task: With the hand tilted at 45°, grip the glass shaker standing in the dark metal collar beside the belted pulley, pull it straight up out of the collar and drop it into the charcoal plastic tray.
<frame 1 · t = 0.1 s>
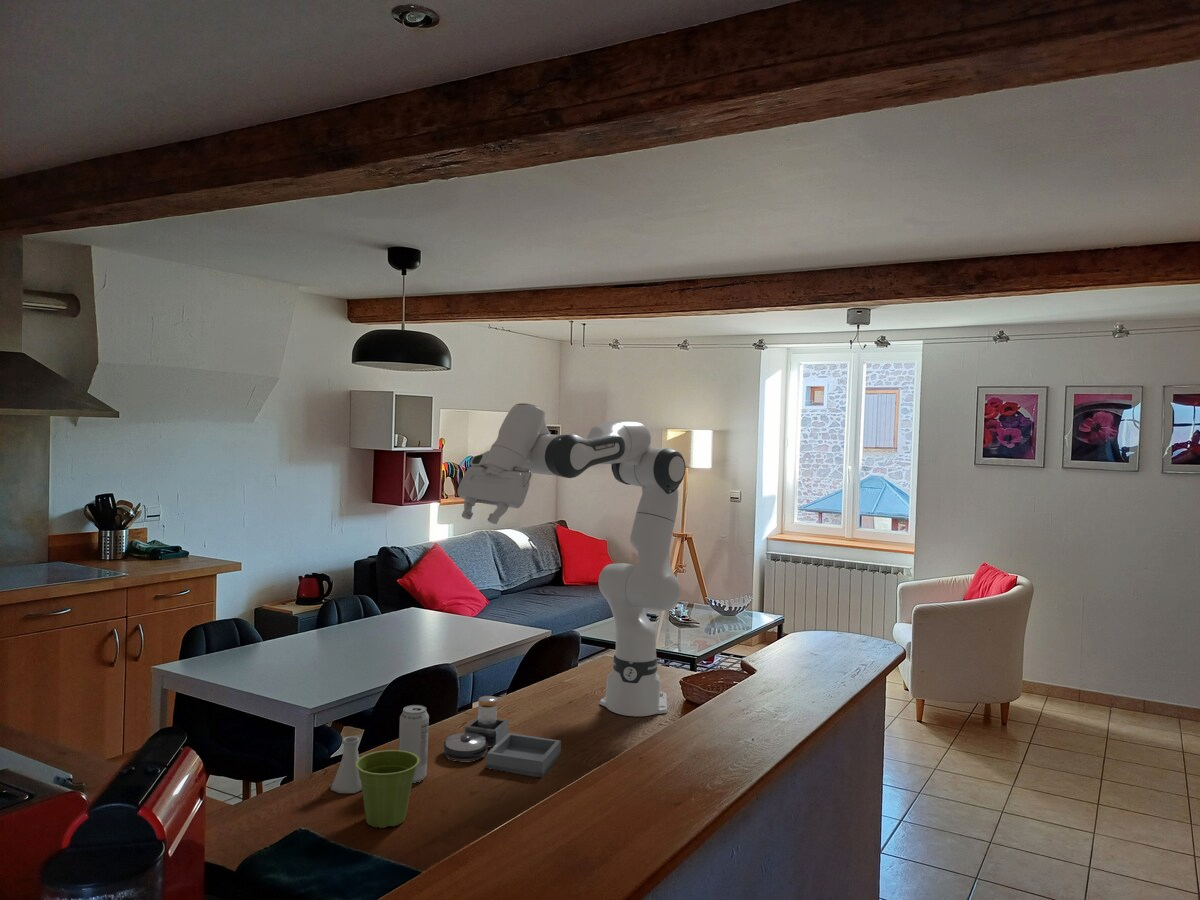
hand: (478, 520, 184), 54 cm above the table, tool tilted 30°, fingers open, 8 cm apart
energy drink can: (411, 779, 175), on the table
flask: (349, 788, 170), on the table
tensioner: (486, 739, 198), on the table
plant pot: (385, 821, 156), on the table
glass shaker: (486, 740, 198), resting in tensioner
tray: (524, 762, 186), on the table
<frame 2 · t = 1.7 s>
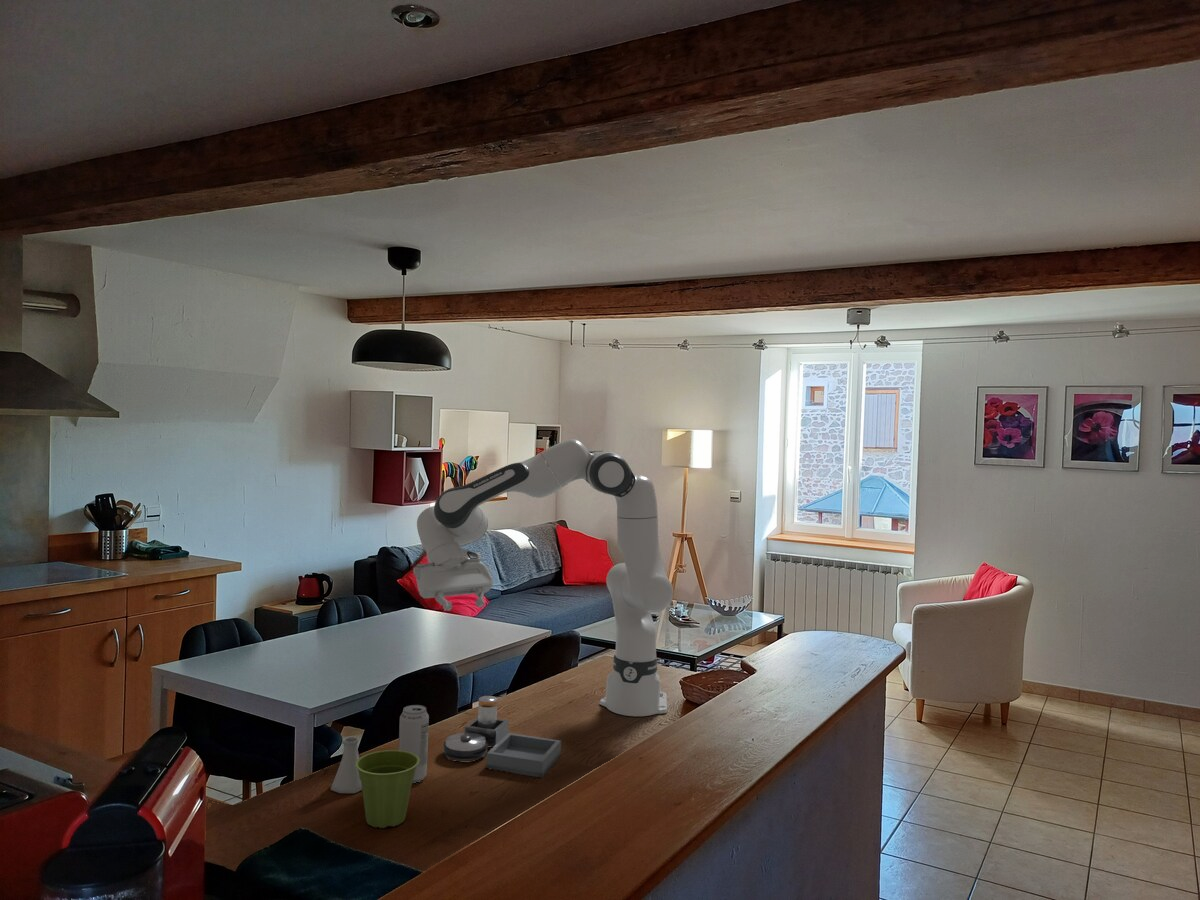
hand: (465, 607, 207), 30 cm above the table, tool tilted 45°, fingers open, 8 cm apart
nothing on the table moved.
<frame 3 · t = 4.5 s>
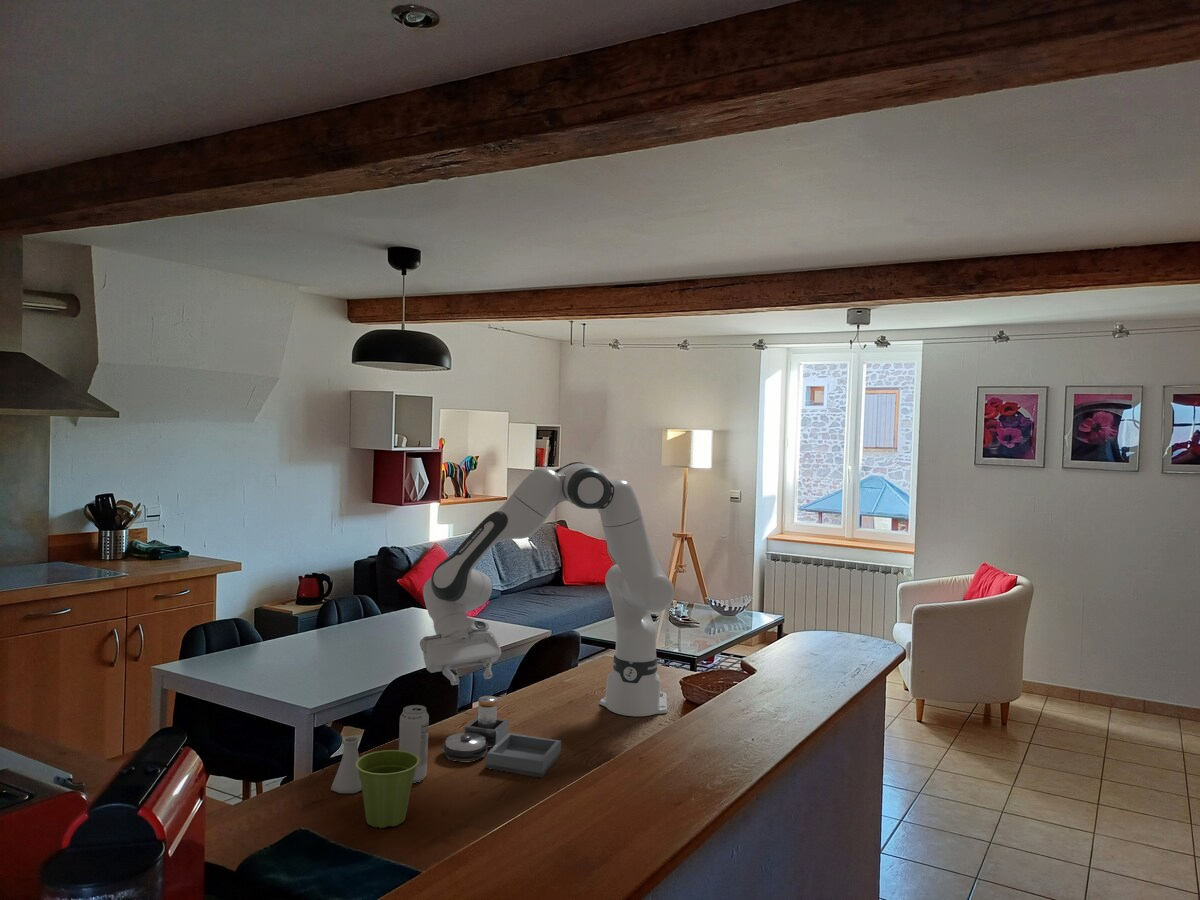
hand: (472, 680, 204), 12 cm above the table, tool tilted 45°, fingers open, 8 cm apart
nothing on the table moved.
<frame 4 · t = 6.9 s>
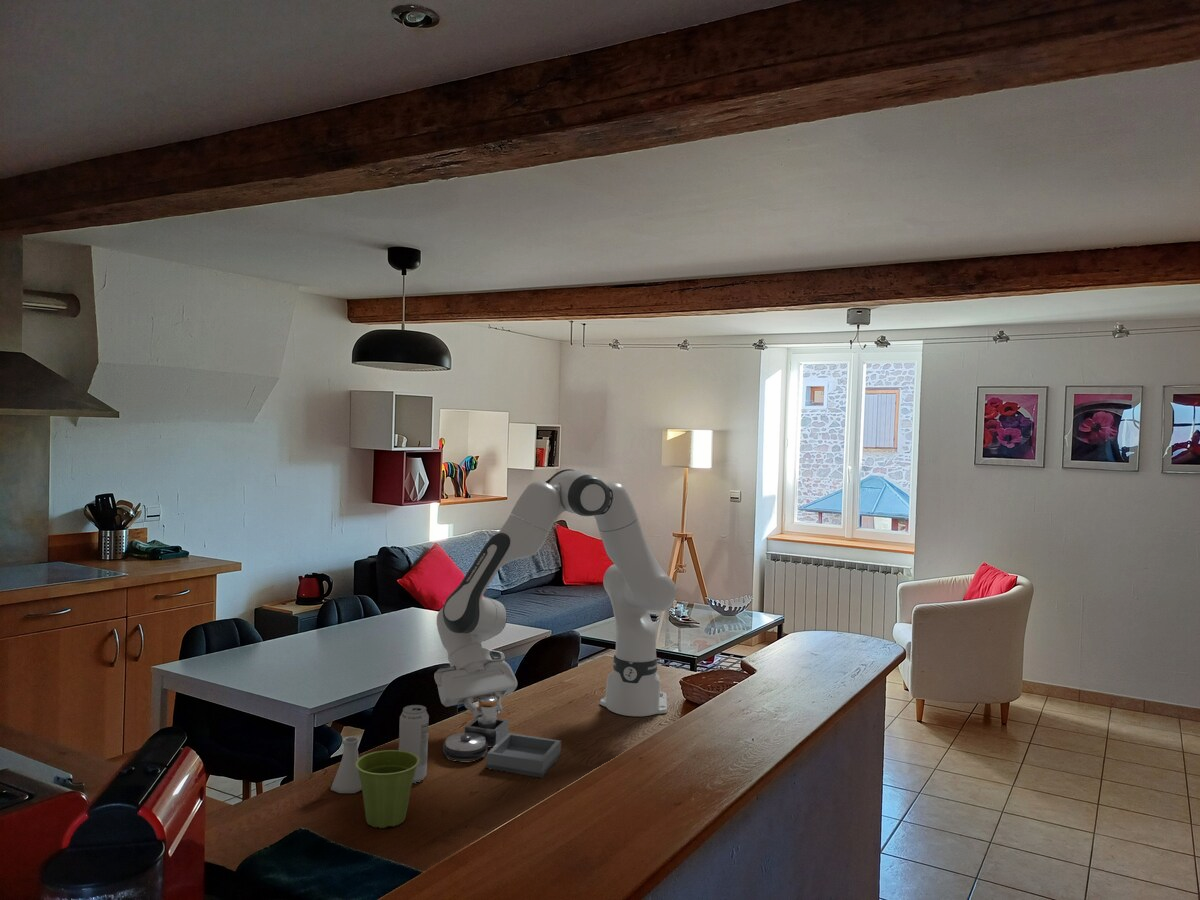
hand: (488, 714, 198), 6 cm above the table, tool tilted 45°, fingers closed on glass shaker, 4 cm apart
glass shaker: (486, 740, 198), resting in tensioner, touching gripper
everything else where it was.
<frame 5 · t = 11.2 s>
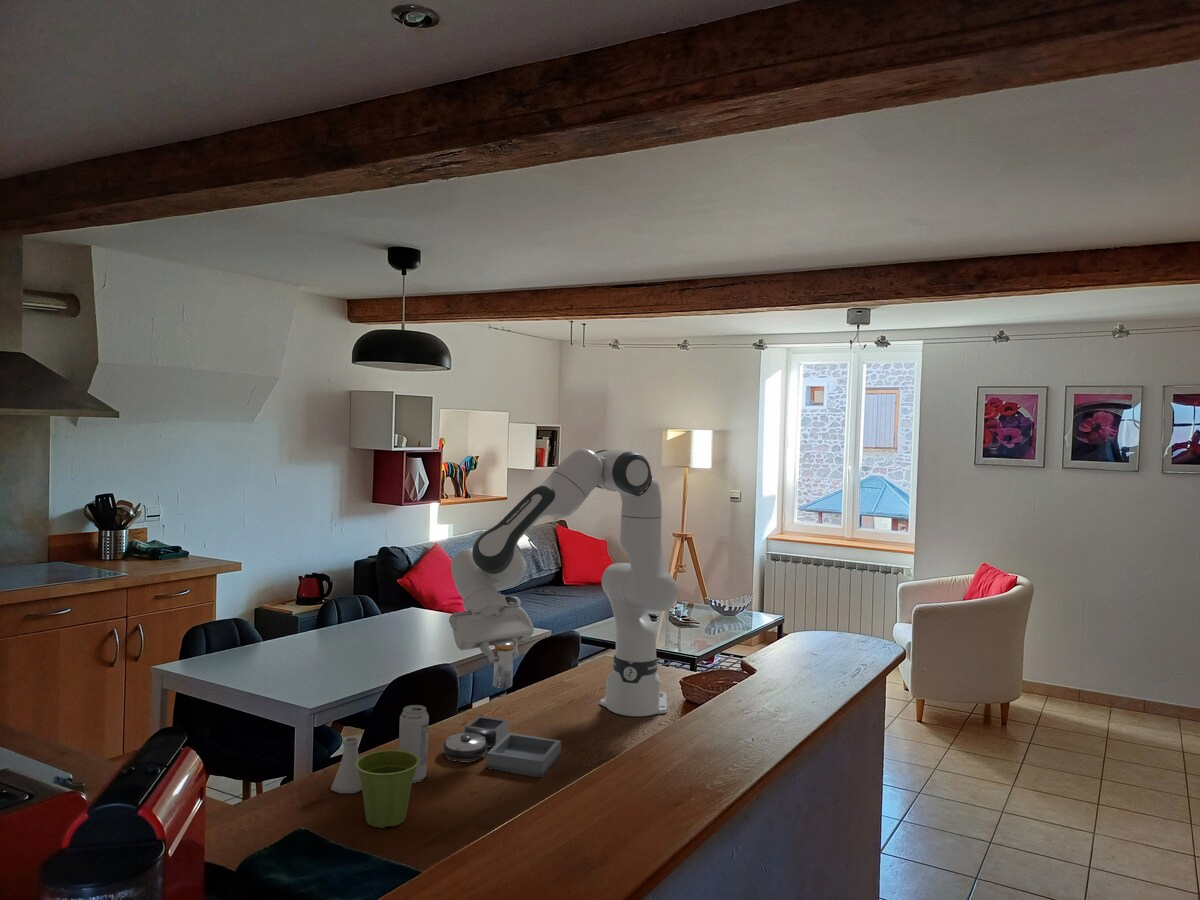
hand: (505, 658, 193), 21 cm above the table, tool tilted 45°, fingers closed on glass shaker, 4 cm apart
glass shaker: (502, 685, 194), point 15 cm above the table, touching gripper
everything else where it was.
when the fingers open (9 cm above the table, at t = 15.6 s): glass shaker drops 2 cm, resting on tray.
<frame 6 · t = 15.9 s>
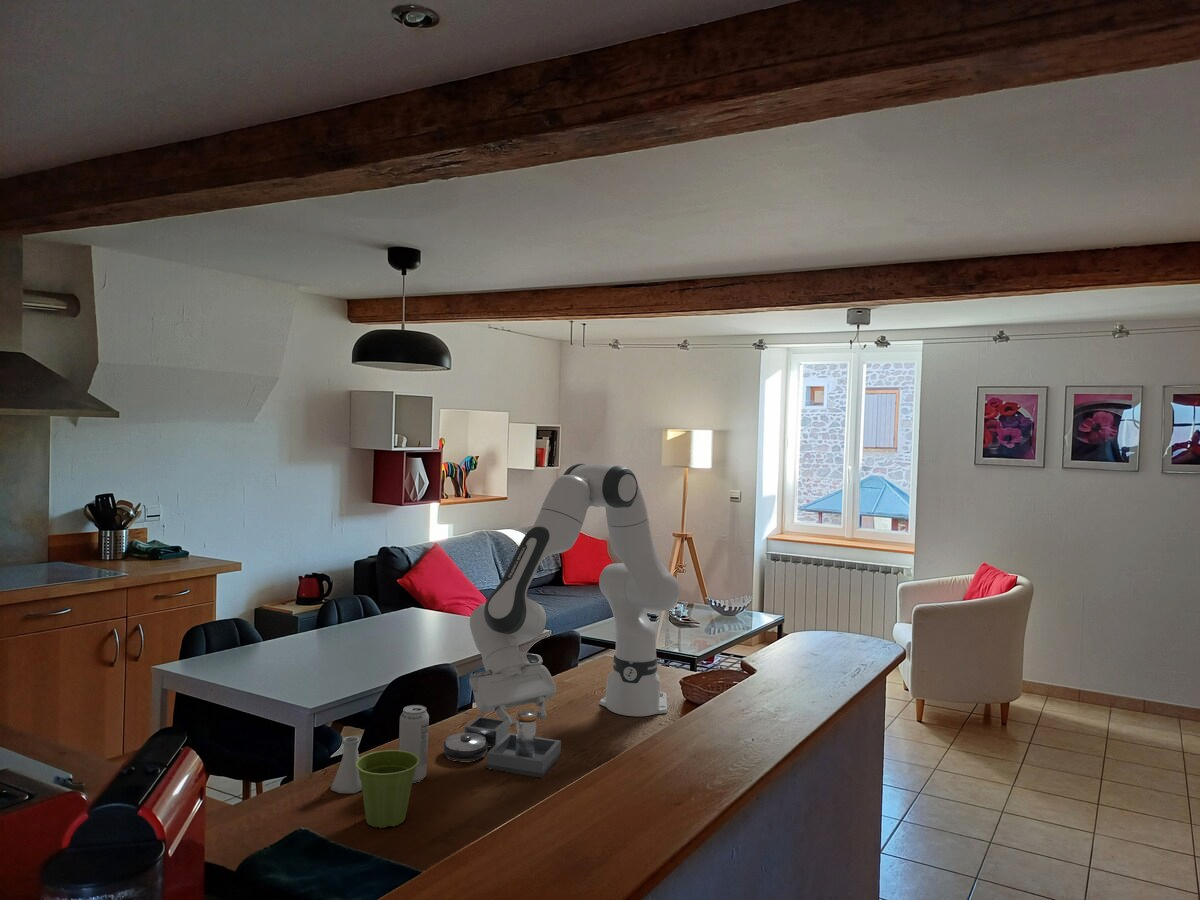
hand: (527, 721, 186), 9 cm above the table, tool tilted 45°, fingers open, 7 cm apart
glass shaker: (524, 757, 186), point 1 cm above the table, touching tray
everything else where it was.
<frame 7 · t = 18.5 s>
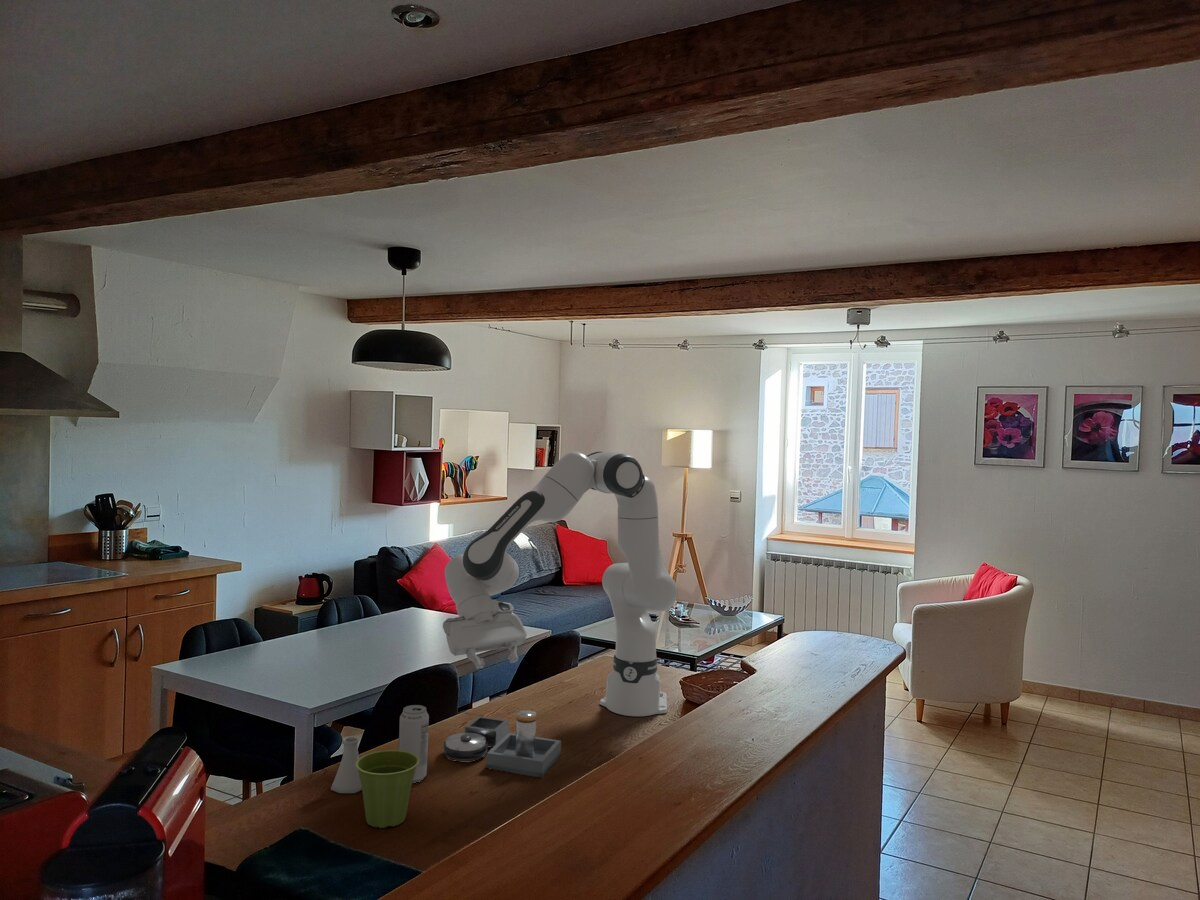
hand: (498, 664, 195), 19 cm above the table, tool tilted 45°, fingers open, 8 cm apart
nothing on the table moved.
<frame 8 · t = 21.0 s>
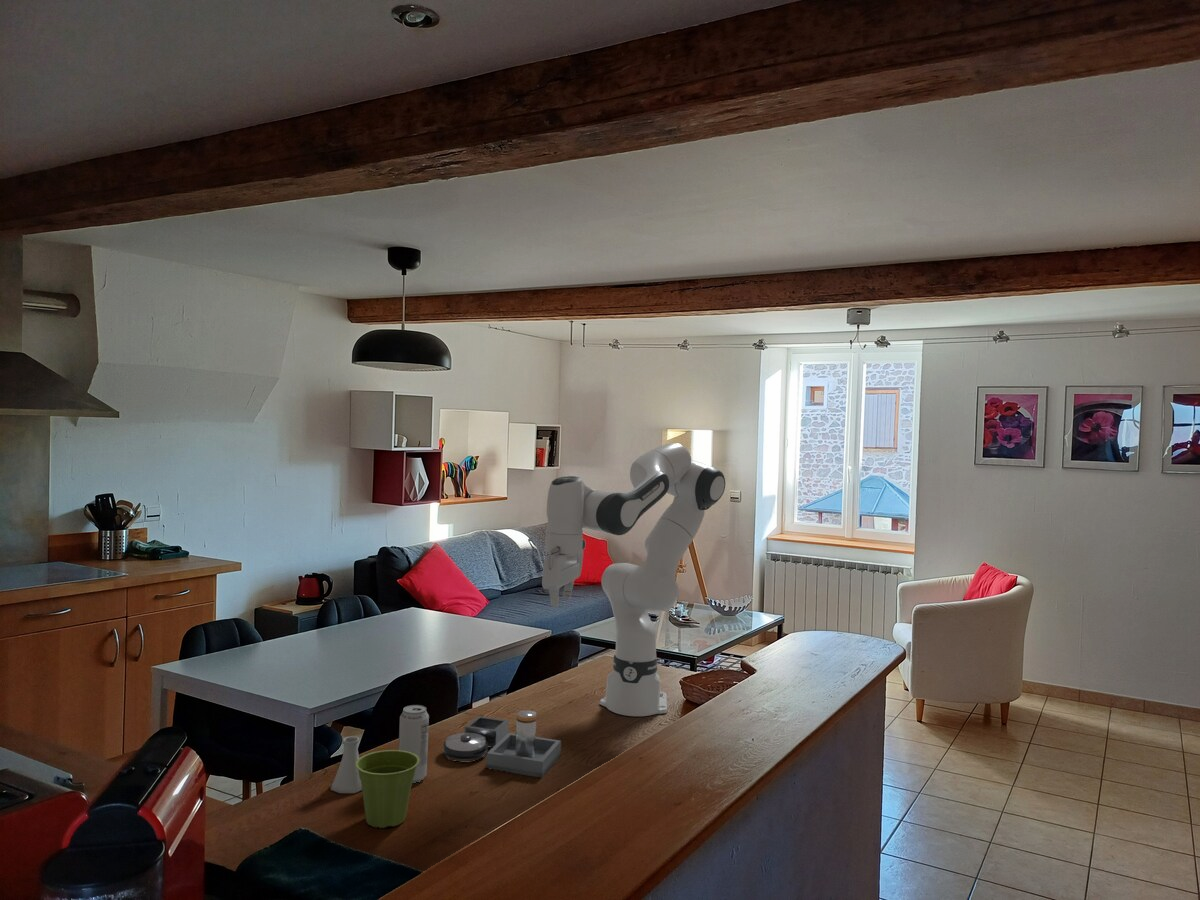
hand: (561, 602, 197), 34 cm above the table, tool pointing down, fingers open, 8 cm apart
nothing on the table moved.
at the end: glass shaker inside the target area on the tray (0.1 cm from its centre), point 1.0 cm above the tray's base; the gripper is holding nothing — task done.
